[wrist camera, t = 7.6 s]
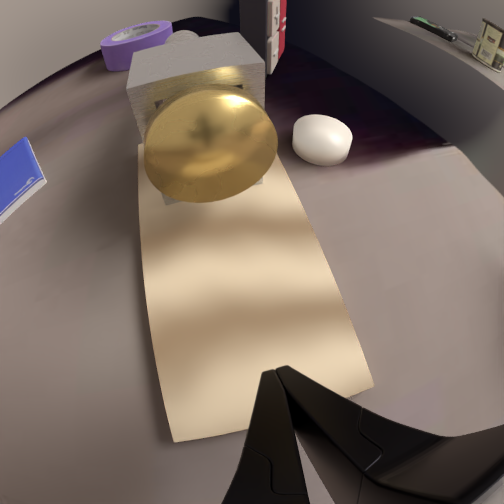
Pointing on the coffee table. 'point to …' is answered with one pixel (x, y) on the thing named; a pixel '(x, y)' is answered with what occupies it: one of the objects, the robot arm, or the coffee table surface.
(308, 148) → the white rounded flat piece
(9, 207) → the hard drive
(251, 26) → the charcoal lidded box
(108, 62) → the tape roll
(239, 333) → the board
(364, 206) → the coffee table surface
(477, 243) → the coffee table surface
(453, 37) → the disk drive
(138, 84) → the bearing block
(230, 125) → the shaft
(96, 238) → the coffee table surface
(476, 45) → the coffee can
